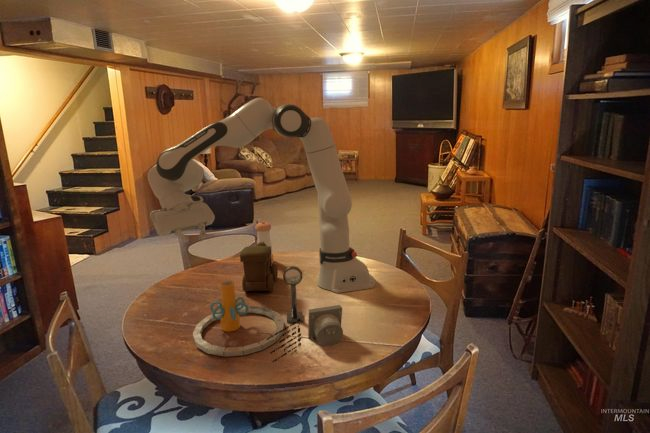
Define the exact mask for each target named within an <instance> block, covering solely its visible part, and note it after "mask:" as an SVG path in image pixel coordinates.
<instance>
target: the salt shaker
mask: <svg viewBox="0 0 650 433" xmlns="http://www.w3.org/2000/svg"><path fill="white" fill-rule="evenodd" d="M254 228H255V231H256V232H257V244H258V243H259V242H264V243H265V244H266V246H271V265H272V264H274V254H273V246H272V242H271V234H270V233H271V229H272V225H271V223H270V222H266V221H264V220H262V221H260V222H258V223H256V224H255V226H254ZM257 244H256V245H257Z"/></svg>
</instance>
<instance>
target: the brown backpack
mask: <svg viewBox="0 0 650 433" xmlns="http://www.w3.org/2000/svg"><path fill="white" fill-rule="evenodd" d="M239 261H240V263H242V264H243V266H242V267H243V271H244V272H243V273H244V274H243V276H242V279H241V281H242V284H241V286H242V290H243V292H244V293H247V292H249V291H251V292H252V291H267V292H268V293H271V292H272V291H274V290H273V289H274V282H276V281H277V279H278V274H279V271H278V268H279V267H278V265H277V263H275V262H273V263H272V264H271V246H266V244H265V243H264V242H259V243H258V244H256V245H249V246H245V247H244V248H243V249H242V250H241V252H240V253H239Z"/></svg>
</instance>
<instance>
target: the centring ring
mask: <svg viewBox="0 0 650 433" xmlns="http://www.w3.org/2000/svg"><path fill="white" fill-rule="evenodd" d="M247 306H248V312H247V313H246V314H257V315H264V316H266V317H268V318H269V319H270V318H271V319H272V320H273V321H274V323H275V324H276V328H275V329H274V331H273V332H272V333H271V334H270V335H268V336H267V337H265V338H264V339H262V340H260V341H258V342H254V343H251V344H248V345H247V344H246V345H244V346H232V347H230V346H229V347H224V346H218V345H214V344H211V343H209V342H207V341H206V340H204V339H203V337H202V334H203V332H204V329H206V328H208V326H209V325H211V324H212V323H213V322H216V321H217V320H215V319H214V318H213V316H212V314H213V313H211V314H209V315H207V316H205V317H204V318H203V319H201V321H200V322H198V323H196V326H195V328H194V330H193V332H192V338H193V341H194V344H195V346H196V348H197V349H199V350H201V351H203V352H204V353H206V354H208V355H214V356H219V357H224V358H225V357H236V356H238V357H239V356H246V355H249V354H253V353H257V352H260V351H262V350H265V349H266V348H268V347H270V346H272V345H273V344H275V343H277V342H278V340H279V339H280V338H281V337H282V336H283V334H284V333H285V330H284V331H282V332H281V333H278V334H277V335H275V336H274V334H276V332H279V331H281V330H282V329H283V328H284V329H285V320H284V318H283V316H281V315H280V313H279V312H278V311H275V310H273V309H271V308H268V307H262V306H255V305H247ZM239 307H240V306H238V308H239ZM219 311H220V310H219ZM219 311H218V310H217V312H219ZM238 311H239V312H245V311H246V307H245V306H243V308H242V309H240V310H238ZM220 315H221V314H215V317H220ZM272 335H273V337H272ZM270 336H271V337H270ZM269 337H270V338H269ZM267 338H269V340H267Z"/></svg>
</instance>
